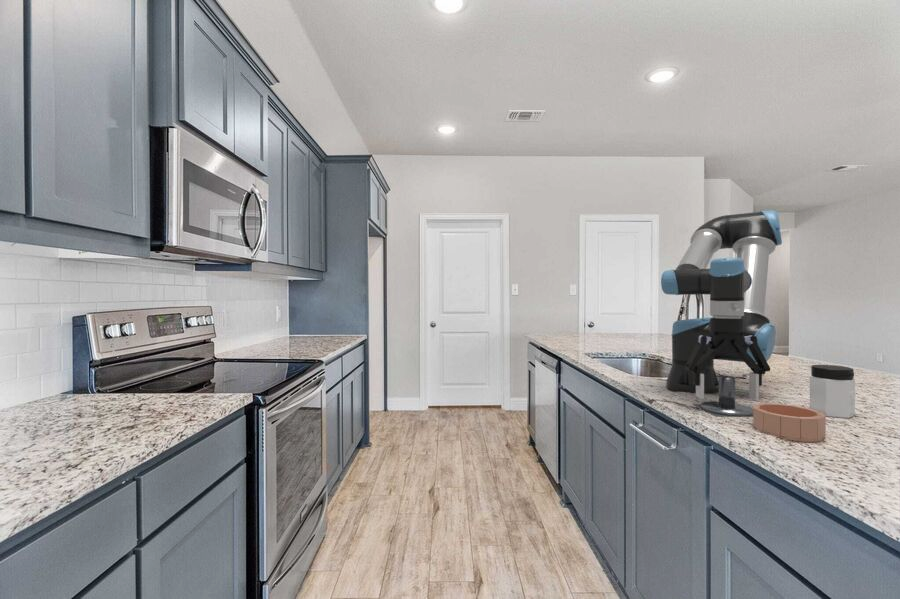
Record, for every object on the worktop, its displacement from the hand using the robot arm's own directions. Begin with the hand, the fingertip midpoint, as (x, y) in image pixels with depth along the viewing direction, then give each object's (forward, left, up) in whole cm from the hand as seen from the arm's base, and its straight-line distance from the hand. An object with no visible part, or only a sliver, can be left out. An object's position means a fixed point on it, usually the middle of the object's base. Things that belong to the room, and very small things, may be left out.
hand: (726, 398), depth 110 cm
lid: (0, 0, -3) cm, 3 cm away
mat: (0, 0, -4) cm, 4 cm away
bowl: (+16, +4, -4) cm, 17 cm away
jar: (0, +26, -4) cm, 26 cm away
